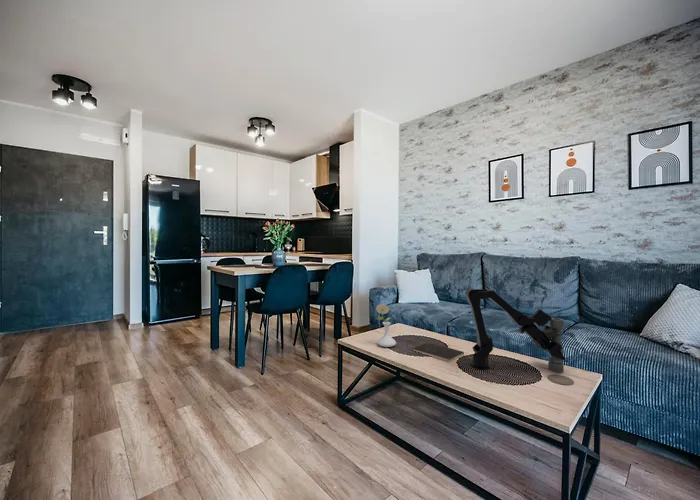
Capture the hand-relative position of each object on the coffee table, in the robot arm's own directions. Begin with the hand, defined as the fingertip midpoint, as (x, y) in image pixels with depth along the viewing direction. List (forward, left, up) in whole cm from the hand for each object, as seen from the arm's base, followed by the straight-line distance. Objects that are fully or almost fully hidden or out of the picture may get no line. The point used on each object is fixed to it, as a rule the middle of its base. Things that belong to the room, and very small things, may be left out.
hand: (559, 356), depth 150 cm
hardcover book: (-40, +41, -8) cm, 58 cm away
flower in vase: (-62, +63, -7) cm, 89 cm away
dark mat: (-10, -8, -7) cm, 14 cm away
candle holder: (-1, +1, -7) cm, 7 cm away
